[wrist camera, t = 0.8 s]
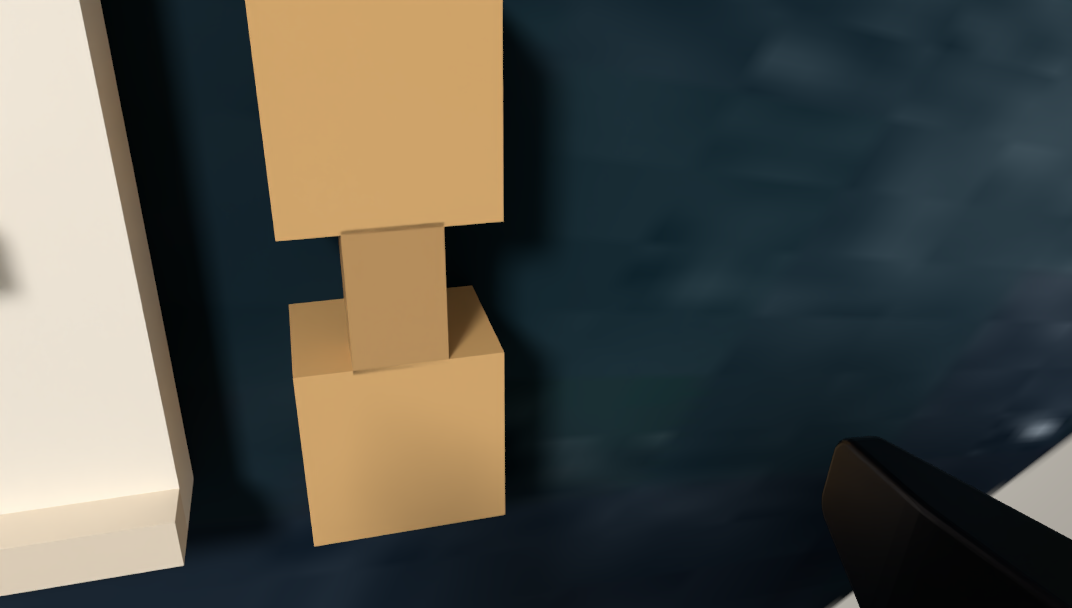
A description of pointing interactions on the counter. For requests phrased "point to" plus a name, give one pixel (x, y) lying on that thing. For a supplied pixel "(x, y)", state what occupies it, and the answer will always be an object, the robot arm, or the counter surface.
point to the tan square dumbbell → (388, 251)
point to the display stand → (78, 321)
